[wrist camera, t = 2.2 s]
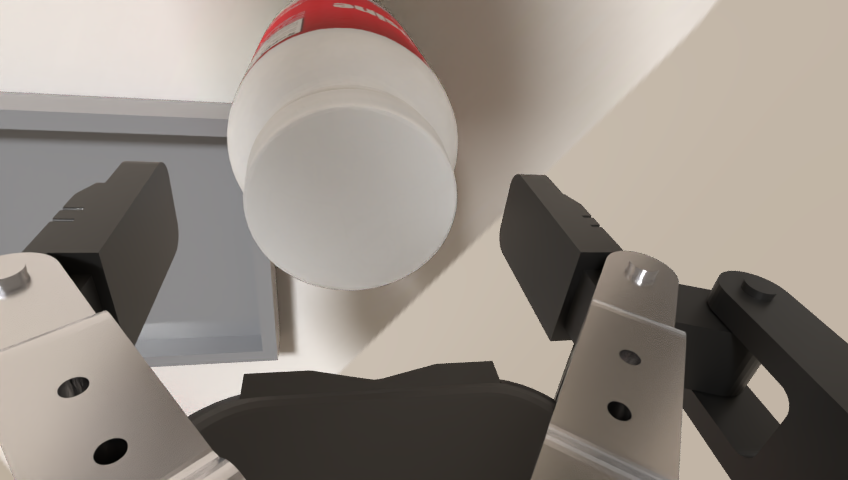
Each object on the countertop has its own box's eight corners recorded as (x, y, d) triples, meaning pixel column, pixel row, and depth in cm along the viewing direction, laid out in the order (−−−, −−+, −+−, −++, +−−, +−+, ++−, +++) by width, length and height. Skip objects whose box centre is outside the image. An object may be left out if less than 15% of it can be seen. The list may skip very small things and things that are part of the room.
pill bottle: (443, 79, 20) (540, 213, 12) (337, 170, 22) (350, 351, 13) (339, -54, 17) (362, -12, 8) (223, 63, 19) (135, 208, 10)
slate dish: (-124, 85, 17) (-165, 102, 16) (263, 104, 20) (259, 120, 18) (8, 347, 24) (-12, 375, 23) (280, 335, 27) (277, 360, 25)
